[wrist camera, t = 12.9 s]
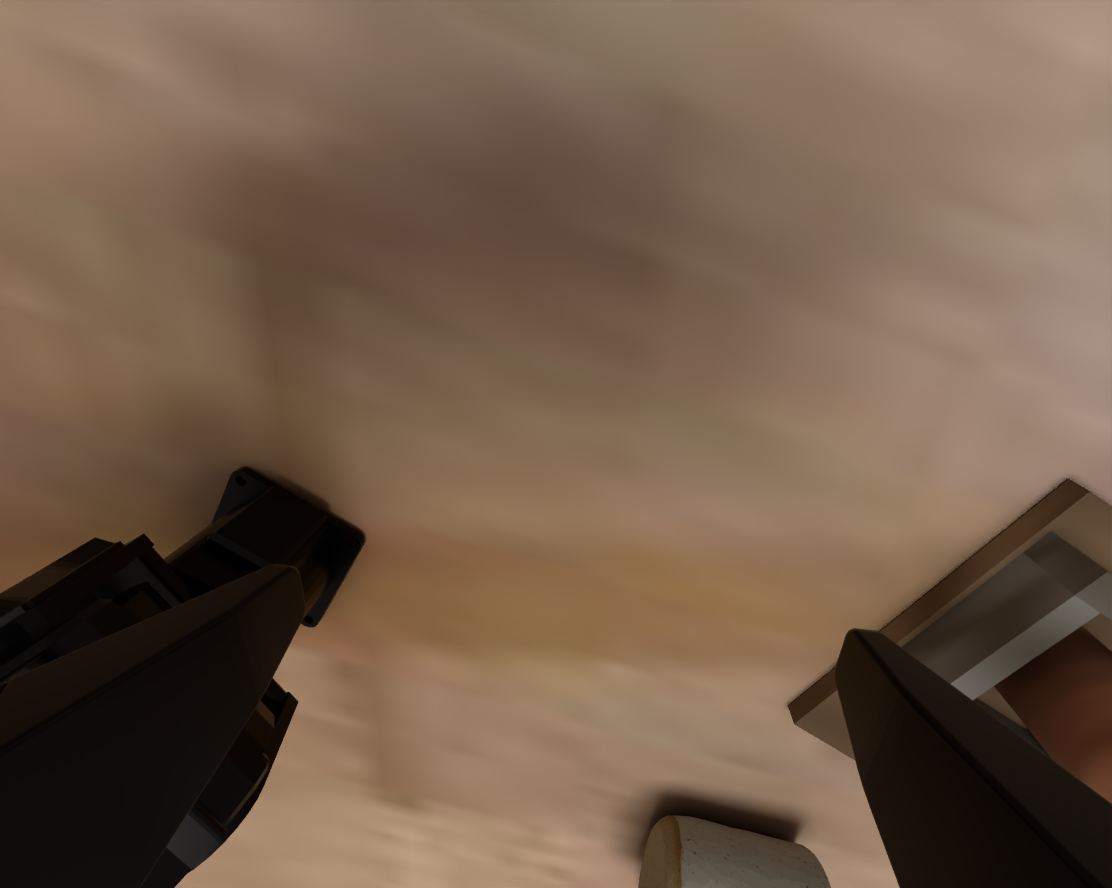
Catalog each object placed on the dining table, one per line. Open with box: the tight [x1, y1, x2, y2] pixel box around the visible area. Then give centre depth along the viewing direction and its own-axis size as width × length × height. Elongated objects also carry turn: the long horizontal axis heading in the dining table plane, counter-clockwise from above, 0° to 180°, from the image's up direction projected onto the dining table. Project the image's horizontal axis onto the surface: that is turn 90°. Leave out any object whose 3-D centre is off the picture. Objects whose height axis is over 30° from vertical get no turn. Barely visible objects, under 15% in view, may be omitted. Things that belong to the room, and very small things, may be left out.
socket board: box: [788, 479, 1112, 760], centre depth 22 cm, size 15×14×4 cm
